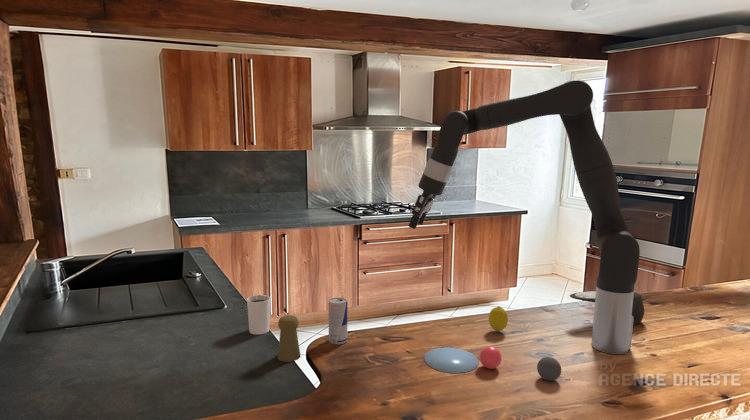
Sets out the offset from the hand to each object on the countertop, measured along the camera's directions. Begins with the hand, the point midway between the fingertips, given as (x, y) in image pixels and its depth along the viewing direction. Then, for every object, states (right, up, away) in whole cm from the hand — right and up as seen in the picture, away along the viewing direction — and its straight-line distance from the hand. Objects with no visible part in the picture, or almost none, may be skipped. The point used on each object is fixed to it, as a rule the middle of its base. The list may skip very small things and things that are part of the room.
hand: (415, 225), depth 145 cm
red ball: (+17, -32, -25) cm, 44 cm away
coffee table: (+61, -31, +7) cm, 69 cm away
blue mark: (+8, -35, -20) cm, 41 cm away
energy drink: (-23, -33, -9) cm, 41 cm away
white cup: (-47, -32, -3) cm, 57 cm away
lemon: (+25, -32, -2) cm, 40 cm away
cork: (-35, -34, -19) cm, 53 cm away
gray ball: (+30, -33, -30) cm, 54 cm away
